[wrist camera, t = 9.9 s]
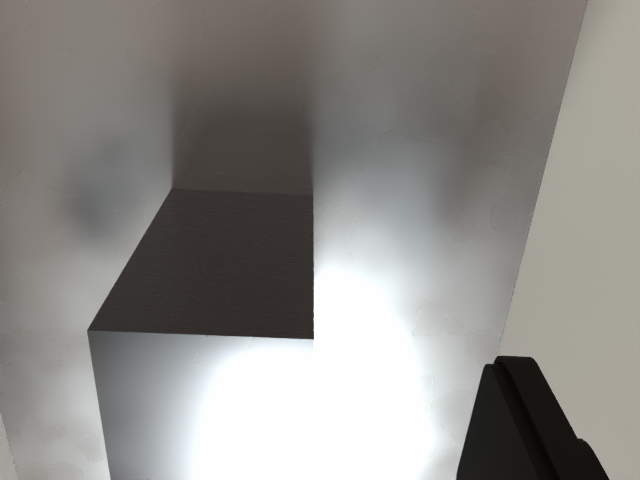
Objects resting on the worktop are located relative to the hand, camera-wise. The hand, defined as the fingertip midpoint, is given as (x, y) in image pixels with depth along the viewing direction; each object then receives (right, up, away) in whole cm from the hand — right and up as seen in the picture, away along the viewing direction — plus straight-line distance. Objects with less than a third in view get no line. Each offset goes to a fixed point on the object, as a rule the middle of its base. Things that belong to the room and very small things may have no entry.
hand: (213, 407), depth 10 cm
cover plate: (0, +2, +4) cm, 5 cm away
